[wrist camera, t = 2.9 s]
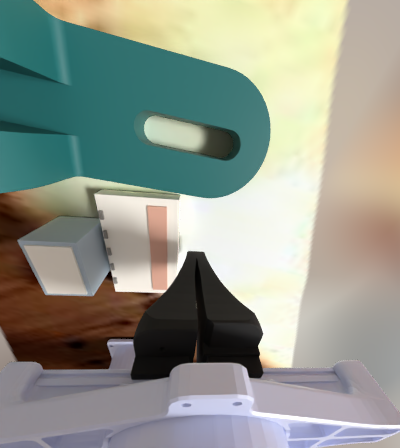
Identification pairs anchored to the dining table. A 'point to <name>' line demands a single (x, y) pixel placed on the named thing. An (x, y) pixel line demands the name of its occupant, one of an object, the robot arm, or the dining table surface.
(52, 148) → the bracket
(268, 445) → the robot arm
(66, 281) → the stub
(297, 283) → the dining table surface
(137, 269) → the spiral notebook
